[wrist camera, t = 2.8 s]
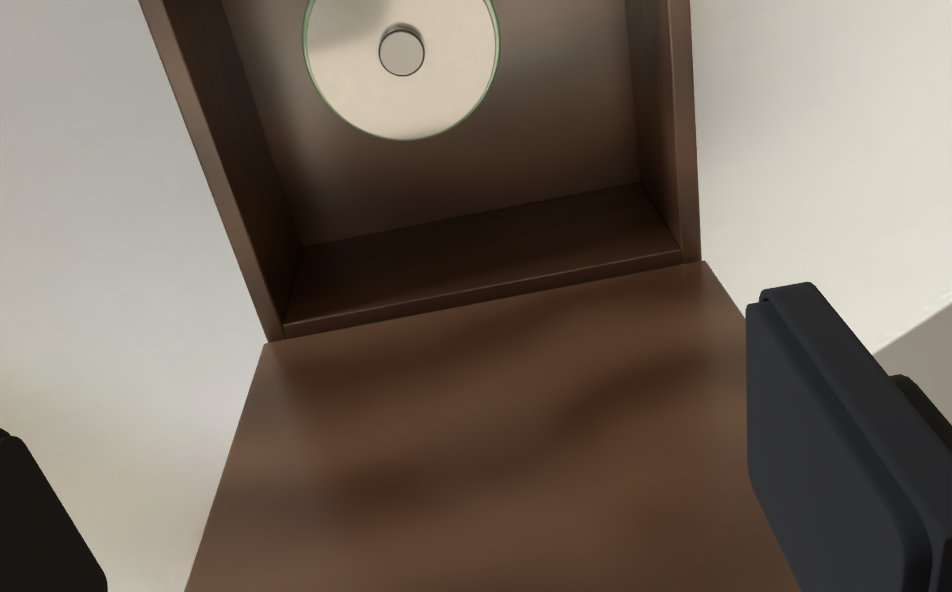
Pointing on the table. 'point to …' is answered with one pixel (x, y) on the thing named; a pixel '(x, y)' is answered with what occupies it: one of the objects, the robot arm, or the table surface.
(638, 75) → the box
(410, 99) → the pot
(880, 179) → the table surface
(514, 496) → the box lid
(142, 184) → the table surface
